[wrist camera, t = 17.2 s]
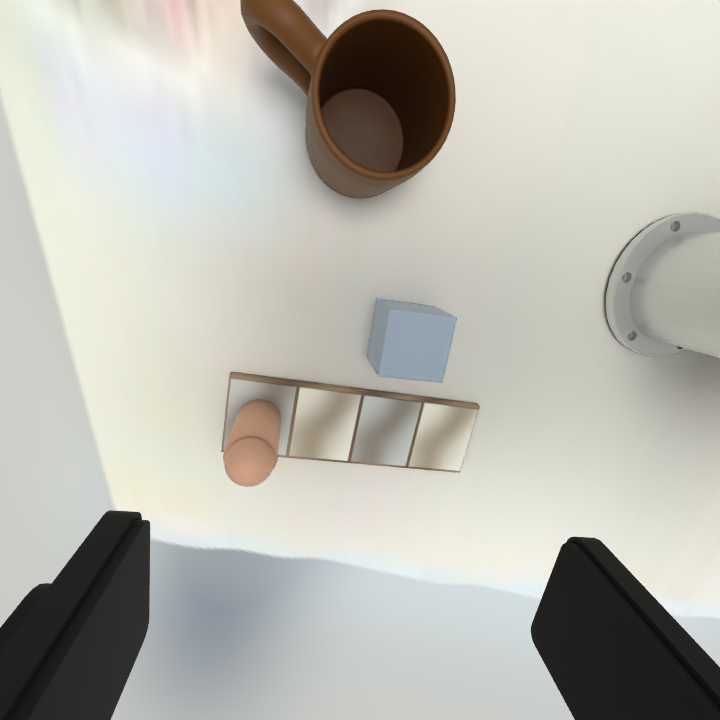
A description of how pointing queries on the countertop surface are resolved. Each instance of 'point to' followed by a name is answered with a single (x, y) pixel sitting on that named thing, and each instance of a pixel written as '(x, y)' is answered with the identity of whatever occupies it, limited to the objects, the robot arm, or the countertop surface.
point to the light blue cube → (410, 340)
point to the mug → (362, 92)
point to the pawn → (253, 443)
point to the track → (358, 423)
